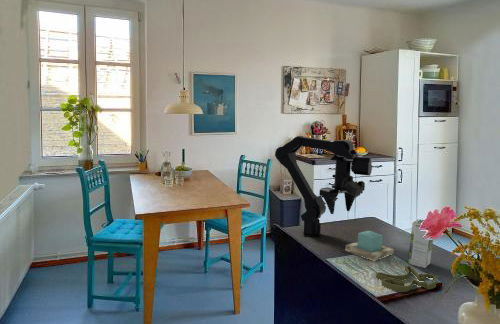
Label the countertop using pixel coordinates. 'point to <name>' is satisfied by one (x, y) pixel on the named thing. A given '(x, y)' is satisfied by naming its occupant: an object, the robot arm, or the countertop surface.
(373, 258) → the socket base
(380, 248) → the turquoise block
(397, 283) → the cookie cutter
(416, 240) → the syrup box
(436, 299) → the countertop surface
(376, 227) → the countertop surface
